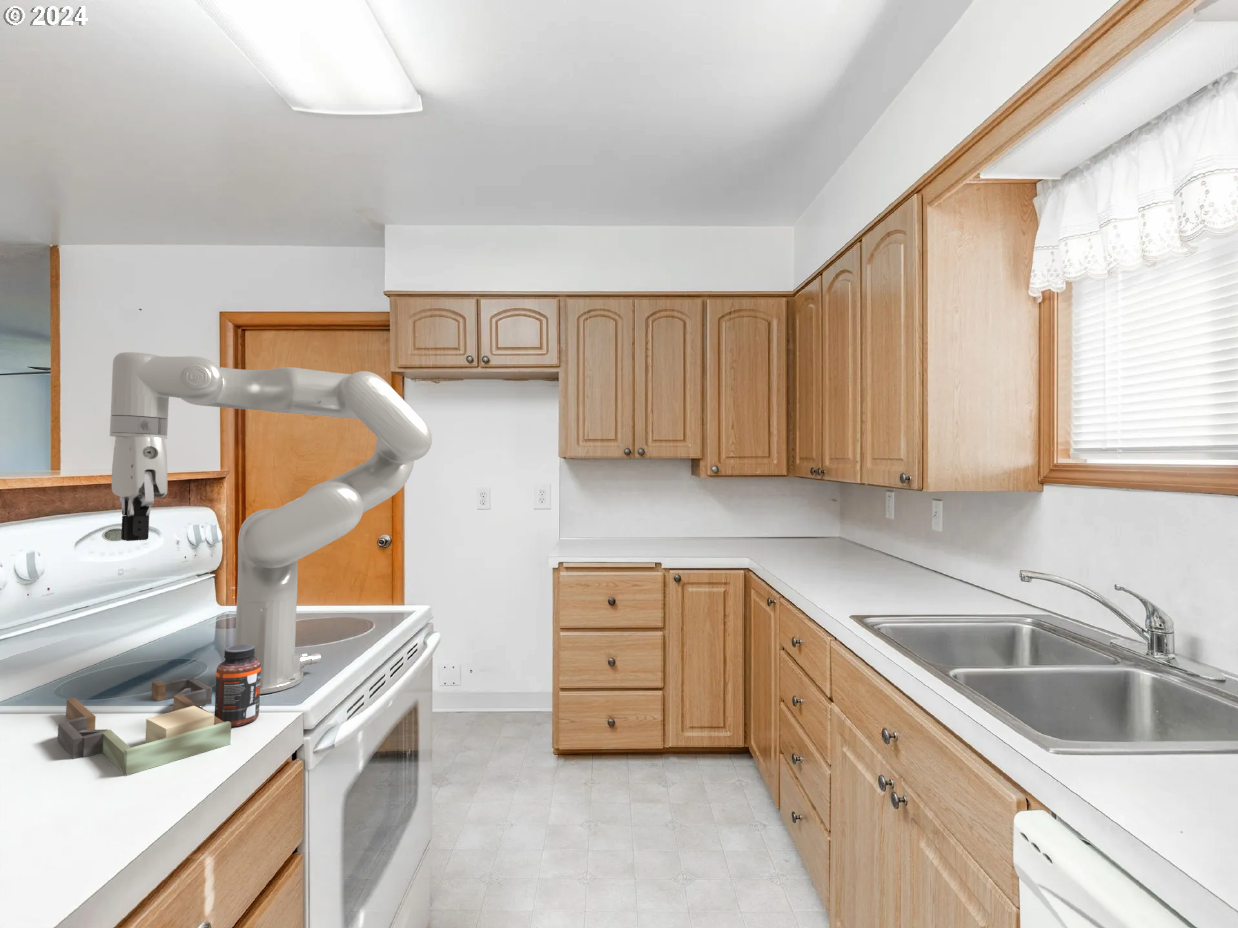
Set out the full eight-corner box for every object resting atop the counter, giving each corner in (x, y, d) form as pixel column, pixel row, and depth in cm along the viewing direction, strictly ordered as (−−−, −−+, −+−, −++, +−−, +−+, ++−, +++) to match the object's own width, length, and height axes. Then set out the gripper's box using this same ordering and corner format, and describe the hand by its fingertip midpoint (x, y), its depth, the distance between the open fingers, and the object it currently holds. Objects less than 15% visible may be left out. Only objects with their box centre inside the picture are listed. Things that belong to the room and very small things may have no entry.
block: (192, 732, 92) (193, 705, 92) (213, 742, 89) (214, 714, 89) (145, 747, 87) (146, 718, 87) (165, 758, 84) (166, 728, 84)
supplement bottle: (264, 721, 96) (266, 648, 96) (219, 732, 92) (222, 655, 92) (253, 710, 100) (255, 640, 101) (210, 719, 96) (212, 646, 96)
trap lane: (187, 688, 109) (188, 671, 109) (262, 734, 92) (262, 714, 92) (39, 721, 94) (40, 701, 94) (95, 784, 76) (97, 759, 76)
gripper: (185, 430, 102) (180, 542, 101) (147, 431, 110) (143, 534, 110) (129, 426, 95) (124, 546, 95) (94, 427, 104) (89, 537, 103)
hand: (134, 539), depth 102 cm, fingers closed
